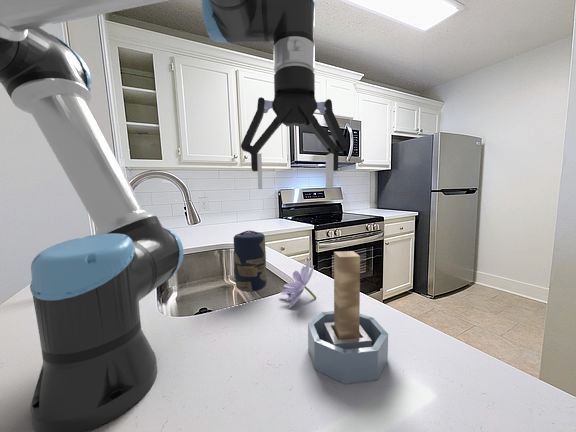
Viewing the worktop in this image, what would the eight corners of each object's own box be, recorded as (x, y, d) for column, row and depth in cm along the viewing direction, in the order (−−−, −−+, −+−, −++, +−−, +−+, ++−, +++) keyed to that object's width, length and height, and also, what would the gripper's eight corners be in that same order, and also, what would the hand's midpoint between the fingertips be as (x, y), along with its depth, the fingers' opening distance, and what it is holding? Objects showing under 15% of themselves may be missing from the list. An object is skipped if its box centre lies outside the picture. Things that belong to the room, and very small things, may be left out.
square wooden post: (339, 357, 43) (339, 257, 41) (334, 345, 46) (334, 251, 44) (359, 356, 43) (360, 256, 41) (352, 343, 46) (352, 251, 44)
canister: (261, 295, 71) (259, 233, 69) (230, 293, 72) (227, 233, 70) (270, 282, 80) (268, 228, 78) (242, 281, 82) (240, 227, 80)
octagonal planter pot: (320, 387, 38) (320, 356, 37) (304, 336, 50) (304, 313, 50) (400, 377, 39) (400, 348, 39) (364, 330, 52) (365, 308, 51)
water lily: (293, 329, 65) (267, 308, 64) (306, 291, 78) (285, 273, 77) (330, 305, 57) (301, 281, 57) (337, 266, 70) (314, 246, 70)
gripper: (222, 60, 40) (227, 189, 43) (367, 65, 43) (364, 187, 45) (228, 80, 48) (232, 189, 50) (352, 84, 50) (350, 187, 53)
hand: (295, 188), depth 48 cm, fingers open, 13 cm apart
